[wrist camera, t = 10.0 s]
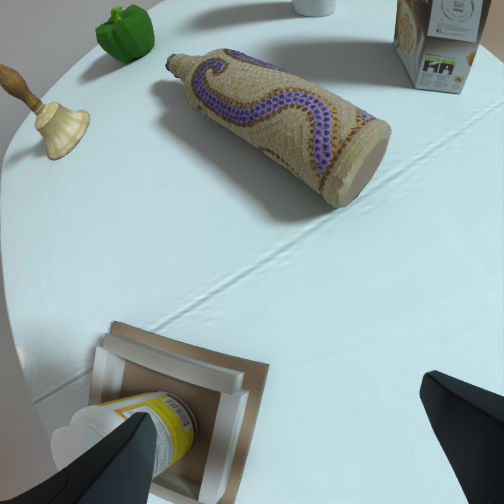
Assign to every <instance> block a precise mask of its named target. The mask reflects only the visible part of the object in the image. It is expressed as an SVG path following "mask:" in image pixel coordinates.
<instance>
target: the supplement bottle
mask: <svg viewBox="0 0 504 504" xmlns="http://www.w3.org/2000/svg"><path fill="white" fill-rule="evenodd" d="M138 411H139V412H148V413H149V414H150V416H151V418H152V420H153V422H154V424H155V427H156V429H157V442H156V452H155V462H154V471H153V476H152V479H153V478H155V477H156V476H158V475H159V474H160V473H162V472H163V471H164V470H166V469H167V468H168V467H170V466H171V465H172V464H174V463H175V462H176V461H177V460H179V459H180V458H181V457H183V456H184V455H185V454H187V453H188V452H189V451H190V450H191V448H192V447H193V446H194V444H195V442H196V438H197V424H196V420H195V417H194V415H193V413H192V412H191V410H190V409H189V407H188V406H187V405H186V404H185V403H184V402H183V401H182V400H181V399H179V398H178V397H176V396H175V395H173V394H170V393H167V392H163V391H151V392H147V393H143V394H140V395H135V396H132V397H127V398H123V399H119V400H115V401H110V402H106V403H101V404H96V405H91V406H87V407H84V408H81V409H80V410H78V411H77V412H76V413H75V414H74V415H73V416H72V418H71V420H70V423H69V425H67V426H63V427H60V428H58V429H56V430H55V431H54V432H53V434H52V437H51V452H52V456H53V460H54V462H55V464H56V466H57V468H58V470H59V471H60V470H62V469H63V468H64V467H67V465H69V464H70V463H71V462H73V461H74V460H75V459H77V458H78V457H79V456H81V455H82V454H83V453H85V452H86V451H87V450H88V449H90V448H91V447H92V446H94V445H95V444H96V443H97V442H99V441H100V440H101V439H103V438H104V437H105V436H106V435H108V434H109V433H110V432H111V431H113V430H114V429H115V428H117V427H118V426H119V425H120V424H121V423H123V422H124V421H125V420H126V419H128V418H129V417H130V416H131V415H133V414H134V413H135V412H138Z"/></svg>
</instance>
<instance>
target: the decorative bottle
mask: <svg viewBox="0 0 504 504" xmlns="http://www.w3.org/2000/svg"><path fill="white" fill-rule="evenodd" d="M165 66H166V69H167V70H168V71H171V73H172V74H174V77H176V78H180V80H181V81H182V82H183V83H184V84H185V85H184V91H185V95H186V99H187V101H188V103H189V104H190V105H191V107H193V108H194V109H195V110H197V111H199V112H201V113H203V114H205V115H206V116H207V117H209V118H211V119H212V120H214V121H216V122H217V123H219V124H221V125H222V126H224V127H225V128H227V129H228V130H230V131H232V132H233V133H235V134H236V135H238V136H239V137H241V138H242V139H244V140H245V141H247V142H248V143H250V144H251V145H252V146H254V147H255V148H257V149H258V150H260V151H261V152H263V153H264V154H266V155H267V156H268V157H270V158H271V159H272V160H274V161H276V162H277V163H279V164H280V165H282V166H283V167H284V168H286V169H287V170H289V171H290V172H291V173H292V174H293V175H294V176H296V177H297V178H299V179H300V180H302V181H304V182H305V184H307V185H309V186H310V188H311V189H313V190H315V191H316V192H317V193H318V194H320V195H322V196H323V198H324V199H325V200H326V202H327V203H329V204H331V205H332V206H333V207H335V208H341V207H346V206H347V205H348V204H349V203H351V202H352V201H353V200H354V199H355V198H357V197H358V195H359V194H360V192H361V191H362V190H363V188H364V187H365V186H366V185H367V184H368V182H369V181H370V180H371V178H372V177H373V175H374V173H375V171H376V169H377V168H378V166H379V164H380V162H381V161H382V159H383V157H384V155H385V152H386V149H387V145H388V142H389V138H390V135H391V131H392V130H391V128H390V125H389V124H388V123H387V122H386V121H383V120H380V119H377V118H375V117H373V116H372V115H370V114H368V113H367V112H366V111H364V110H362V109H360V108H358V107H356V106H355V105H353V104H352V103H350V102H348V101H346V100H344V99H343V98H341V97H339V96H337V95H336V94H334V93H332V92H330V91H328V90H326V89H324V88H322V87H320V86H318V85H316V84H314V83H312V82H310V81H308V80H305V79H303V78H301V77H299V76H297V75H295V74H293V73H291V72H289V71H286V70H284V69H282V68H279V67H277V66H274V65H272V64H269V63H266V62H263V61H260V60H258V59H255V58H252V57H250V56H247V55H245V54H244V53H240V52H239V51H235V50H230V49H217V50H213V51H211V52H209V53H207V54H206V55H204V56H199V55H198V56H189V55H186V54H172V55H171V56H170V57H169V58H168V59H167V63H166V65H165Z"/></svg>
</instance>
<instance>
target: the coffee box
mask: <svg viewBox="0 0 504 504" xmlns="http://www.w3.org/2000/svg"><path fill="white" fill-rule="evenodd" d="M490 4H491V0H398V1H397V14H396V25H395V34H394V42H393V45H394V47H395V49H396V51H397V52H398V54H399V56H400V58H401V60H402V62H403V64H404V66H405V68H406V70H407V72H408V74H409V76H410V78H411V81H412V83H413V85H414V87H415V88H417V89H427V90H435V91H443V92H450V93H457V94H460V93H461V92H462V89H463V87H464V84H465V82H466V79H467V77H468V74H469V71H470V68H471V66H472V63H473V60H474V57H475V55H476V52H477V49H478V46H479V43H480V39H481V36H482V33H483V29H484V26H485V23H486V19H487V16H488V12H489V8H490Z"/></svg>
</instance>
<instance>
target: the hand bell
mask: <svg viewBox="0 0 504 504" xmlns="http://www.w3.org/2000/svg"><path fill="white" fill-rule="evenodd" d="M0 84H1V86H2V87H3V89H4V90H5V91H7V92H8V93H9V94H10V95H12V96H14V97H16V98H18V99H21V100H22V101H23V102H24V103H25V104H26V105H27V106H28V107H29V108H30V109H31V110H32V111H33V112H34V113H35V114H36V116H37V118H36V121H35V128H36V129H37V130H38V131H39V133H40V134H41V135H42V136H43V138H44V140H45V142H46V145H47V154H48V156H49V158H50V159H53V160H56V159H59V158H61V157H63V156H64V155H66V154H67V153H68V152H69V151H71V150H72V149H73V147H74V146H75V145H76V144H77V143H78V142H79V141H80V139H81V138H82V136H83V135H84V133H85V131H86V129H87V127H88V124H89V120H90V116H89V113H88V112H87V111H84V110H78V111H72V110H69V109H67V108H65V107H63V106H62V105H60V104H59V103H58V102H52V103H50V104H48V105H45V104H43V103H42V101H41V100H39V99H38V98H37V97H36V96H35V95H34V94H32V92H31V91H30V90H29V88H28V86H27V84H26V82H25V80H24V79H23V78H22V76H21V75H20V74H19V73H18V72H17V71H15V70H14V69H12V68H8V67H6V66H4V65H3V64H1V65H0Z"/></svg>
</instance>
